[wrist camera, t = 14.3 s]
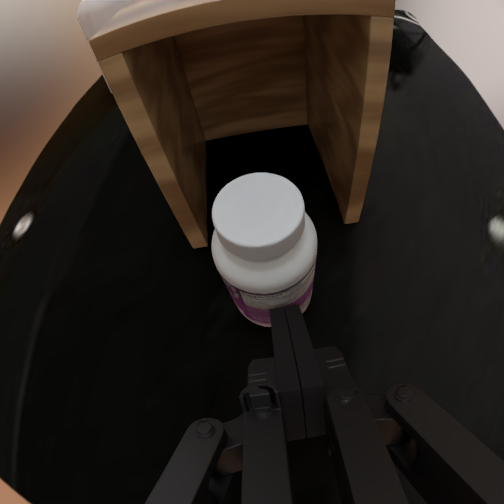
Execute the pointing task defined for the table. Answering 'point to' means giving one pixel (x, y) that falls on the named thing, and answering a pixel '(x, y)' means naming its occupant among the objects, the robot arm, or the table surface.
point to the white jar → (97, 16)
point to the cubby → (248, 85)
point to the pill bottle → (264, 245)
